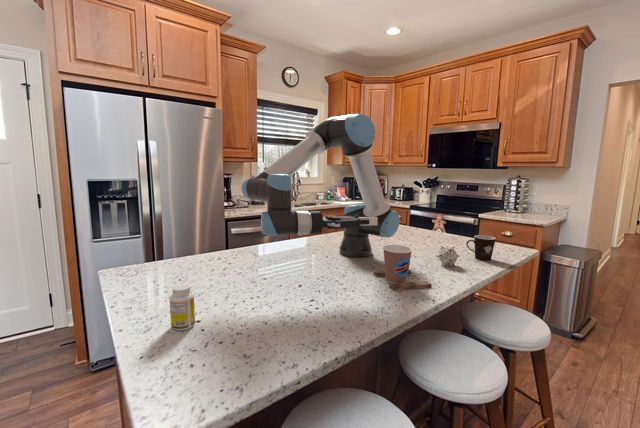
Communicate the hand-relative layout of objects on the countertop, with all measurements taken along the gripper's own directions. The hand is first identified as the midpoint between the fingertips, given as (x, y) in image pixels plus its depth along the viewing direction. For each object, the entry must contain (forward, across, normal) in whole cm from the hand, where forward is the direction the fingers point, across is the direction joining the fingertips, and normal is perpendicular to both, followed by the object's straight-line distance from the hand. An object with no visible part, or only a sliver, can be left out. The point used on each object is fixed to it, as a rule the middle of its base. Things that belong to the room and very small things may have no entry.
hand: (376, 221), depth 110 cm
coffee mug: (+60, -19, -22) cm, 66 cm away
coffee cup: (+9, 0, -22) cm, 24 cm away
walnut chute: (+11, 0, -22) cm, 24 cm away
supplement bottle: (-60, +20, -22) cm, 67 cm away
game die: (+39, -13, -22) cm, 46 cm away
